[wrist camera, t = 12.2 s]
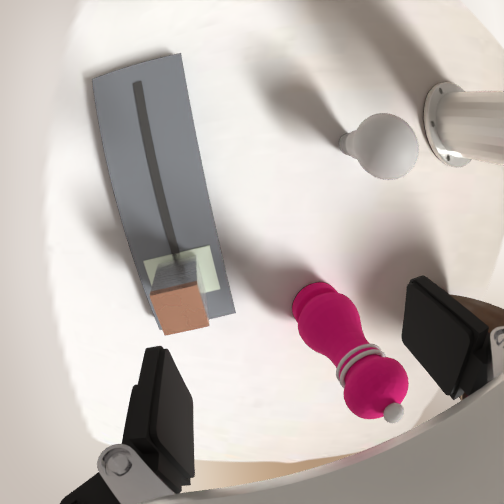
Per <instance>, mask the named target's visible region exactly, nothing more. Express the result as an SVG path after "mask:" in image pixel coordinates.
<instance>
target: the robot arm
mask: <svg viewBox="0 0 504 504" xmlns="http://www.w3.org/2000/svg"><path fill="white" fill-rule="evenodd" d="M424 125H425V130H426V135H427V138H428V141H429V144H430V146H431V148H432V150H433V152H434V153H435V155H436V156H437V157H438V158H439V159H440V160H441V161H442V162H443V163H444V164H446V165H448V166H451V167H463V166H465V165H467V164H468V163H469V162H470V161H471V160H478V161H483V162H488V163H493V164H498V165H502V166H504V91H472V92H465V91H464V90H463V89H462V88H460V87H459V86H457V85H456V84H453V83H450V82H444V83H439V84H437V85H435V86H434V87H433V88H432V89H431V90H430V92H429V93H428V95H427V98H426V101H425V106H424ZM488 329H489V326H487V325H486V324H485V323H484V322H483V321H481V320H480V319H479V318H478V317H477V316H475V315H474V314H473V313H472V312H471V311H469V310H468V309H467V308H466V307H464V306H463V305H462V304H461V303H459V302H458V301H457V300H456V299H454V298H453V297H452V296H450V295H449V294H448V293H447V292H445V291H444V290H443V289H441V288H440V287H439V286H437V285H436V284H435V283H433V282H432V281H431V280H429V279H428V278H427V277H425V276H419V277H417V278H414V279H411V280H410V282H409V284H408V285H407V291H406V302H405V312H404V321H403V329H402V341H403V343H404V345H405V346H406V347H407V348H408V349H409V351H410V352H411V353H412V354H413V355H414V356H415V358H416V359H417V360H418V361H419V362H420V364H421V365H422V366H423V367H424V368H425V370H426V371H427V372H428V373H429V374H430V376H431V377H432V378H433V379H434V381H435V382H436V383H437V384H438V386H439V387H440V388H441V389H442V391H443V392H444V393H445V394H446V395H450V396H451V398H452V399H453V400H455V399H456V398H458V397H460V396H461V395H463V394H464V392H465V393H466V394H467V397H466V398H465V399H463V400H462V401H460V402H459V403H457V404H455V405H454V406H452V407H451V408H449V409H447V410H446V411H444V412H442V413H440V414H439V415H437V416H435V417H433V418H432V419H430V420H428V421H426V422H424V423H422V424H421V425H419V426H417V427H415V428H413V429H411V430H409V431H407V432H405V433H403V434H401V435H399V436H397V437H394V438H392V439H390V440H388V441H386V442H383V443H381V444H379V445H376V446H374V447H372V448H369V449H367V450H364V451H362V452H359V453H357V454H354V455H351V456H349V457H346V458H343V459H340V460H337V461H334V462H331V463H328V464H325V465H322V466H319V467H316V468H312V469H309V470H305V471H302V472H298V473H294V474H290V475H286V476H282V477H278V478H273V479H269V480H264V481H259V482H254V483H249V484H243V485H237V486H232V487H225V488H217V489H209V490H202V491H194V492H186V493H180V492H181V491H182V489H181V488H182V487H181V486H185V485H191V484H190V478H193V477H194V475H195V470H194V434H193V400H192V396H191V394H190V392H189V390H188V388H187V387H186V385H185V383H184V381H183V379H182V377H181V375H180V373H179V371H178V369H177V367H176V365H175V363H174V360H173V358H172V356H171V354H170V352H169V350H168V349H163V347H162V346H156V347H151V348H146V350H145V354H144V358H143V363H142V367H141V372H140V377H139V381H138V385H134V386H133V389H132V392H131V397H130V402H129V407H128V412H127V417H126V423H125V428H124V434H123V440H122V444H116V445H112V446H110V447H108V448H106V449H105V450H104V451H103V452H102V453H101V455H100V456H99V459H98V462H97V468H98V471H99V472H98V473H97V474H96V475H94V476H93V477H92V478H90V479H89V480H88V481H86V482H85V483H84V484H82V485H81V486H80V487H78V488H77V489H76V490H74V491H73V492H71V493H70V494H69V495H67V496H66V497H65V498H64V499H63V500H62V501H61V503H60V504H504V326H501V327H497V328H495V329H494V330H492V332H491V334H490V333H489V332H488Z"/></svg>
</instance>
